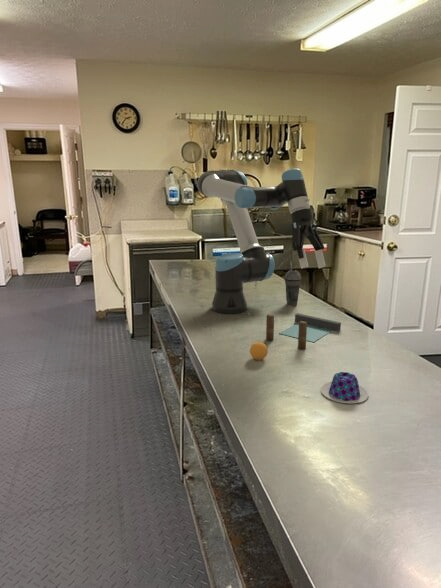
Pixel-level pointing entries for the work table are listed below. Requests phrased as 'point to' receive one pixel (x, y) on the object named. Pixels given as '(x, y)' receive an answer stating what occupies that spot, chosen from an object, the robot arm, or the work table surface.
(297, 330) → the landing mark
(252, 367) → the work table surface
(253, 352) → the ball
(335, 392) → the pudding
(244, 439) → the work table surface
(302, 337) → the right post
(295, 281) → the beverage cup
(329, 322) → the stopper wall
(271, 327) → the left post
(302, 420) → the work table surface
